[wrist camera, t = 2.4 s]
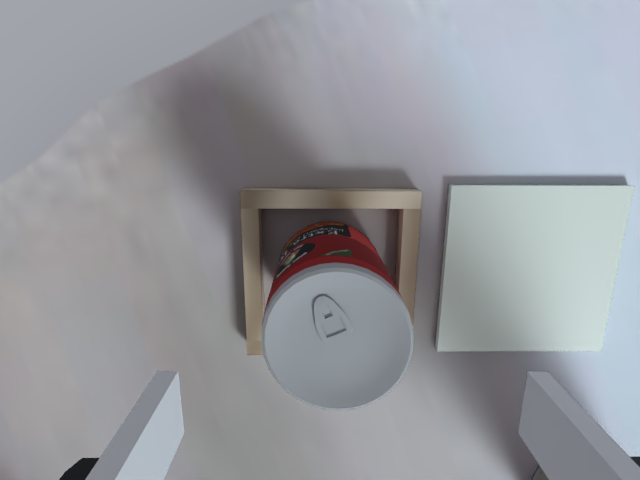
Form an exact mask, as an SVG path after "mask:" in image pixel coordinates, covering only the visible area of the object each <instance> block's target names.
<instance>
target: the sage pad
mask: <svg viewBox="0 0 640 480" xmlns="http://www.w3.org/2000/svg"><path fill="white" fill-rule="evenodd" d="M633 191H634V186H632V185H449V191H448V202H447V214H446V226H445V238H444V249H443V261H442V273H441V285H440V296H439V308H438V320H437V332H436V343H435V348H436V350H437V352H463V351H601V350H602V345H603V340H604V335H605V330H606V325H607V320H608V315H609V310H610V305H611V300H612V295H613V290H614V285H615V280H616V275H617V270H618V265H619V260H620V256H621V251H622V246H623V241H624V236H625V231H626V226H627V221H628V216H629V211H630V206H631V201H632V196H633Z"/></svg>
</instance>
